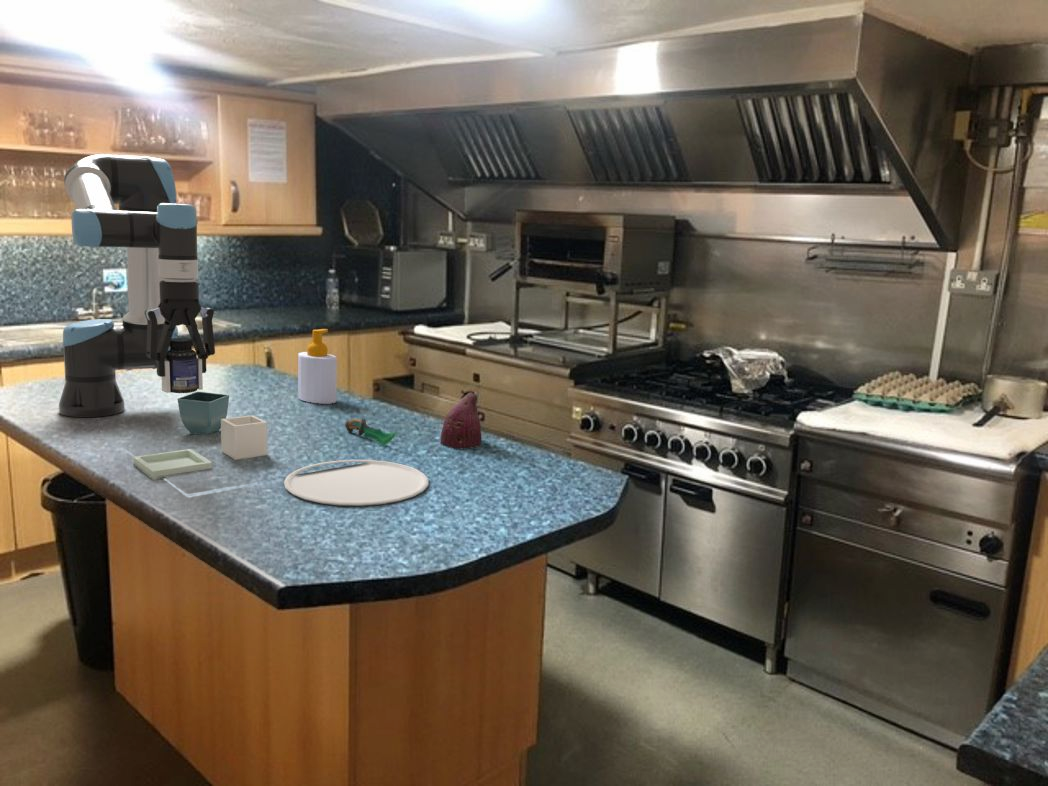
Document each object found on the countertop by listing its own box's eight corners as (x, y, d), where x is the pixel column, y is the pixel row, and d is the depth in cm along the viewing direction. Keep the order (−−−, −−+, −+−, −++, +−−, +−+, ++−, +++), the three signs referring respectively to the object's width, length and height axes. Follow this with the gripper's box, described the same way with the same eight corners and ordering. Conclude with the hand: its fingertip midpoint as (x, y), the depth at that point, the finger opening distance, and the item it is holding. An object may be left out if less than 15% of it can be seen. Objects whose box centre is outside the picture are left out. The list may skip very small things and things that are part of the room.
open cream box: (221, 453, 191) (220, 419, 190) (253, 449, 196) (252, 415, 194) (235, 462, 186) (234, 426, 184) (267, 457, 191) (267, 422, 189)
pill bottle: (203, 390, 184) (202, 339, 182) (184, 395, 178) (183, 342, 176) (179, 387, 186) (178, 336, 183) (160, 391, 180) (158, 339, 178)
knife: (343, 432, 216) (343, 413, 214) (349, 431, 217) (349, 412, 216) (394, 451, 201) (394, 431, 200) (400, 450, 202) (400, 430, 201)
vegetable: (485, 454, 214) (504, 398, 211) (465, 458, 204) (485, 400, 201) (450, 437, 218) (469, 382, 215) (429, 441, 208) (449, 383, 205)
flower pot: (211, 438, 203) (210, 401, 201) (177, 435, 204) (176, 398, 203) (230, 430, 211) (230, 394, 209) (198, 426, 213) (197, 391, 211)
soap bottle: (344, 401, 248) (344, 331, 244) (323, 406, 241) (323, 334, 237) (311, 394, 255) (311, 326, 250) (290, 398, 248) (290, 328, 244)
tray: (133, 464, 180) (133, 456, 180) (190, 456, 188) (190, 448, 188) (152, 480, 172) (152, 471, 171) (212, 470, 179) (212, 462, 179)
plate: (361, 520, 157) (361, 514, 156) (252, 487, 172) (252, 481, 171) (457, 483, 181) (457, 477, 181) (354, 456, 196) (354, 451, 196)
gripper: (137, 282, 168) (142, 397, 173) (231, 281, 181) (233, 388, 185) (124, 279, 174) (129, 391, 178) (216, 278, 186) (219, 382, 191)
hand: (182, 389), depth 182 cm, fingers closed on pill bottle, 6 cm apart
